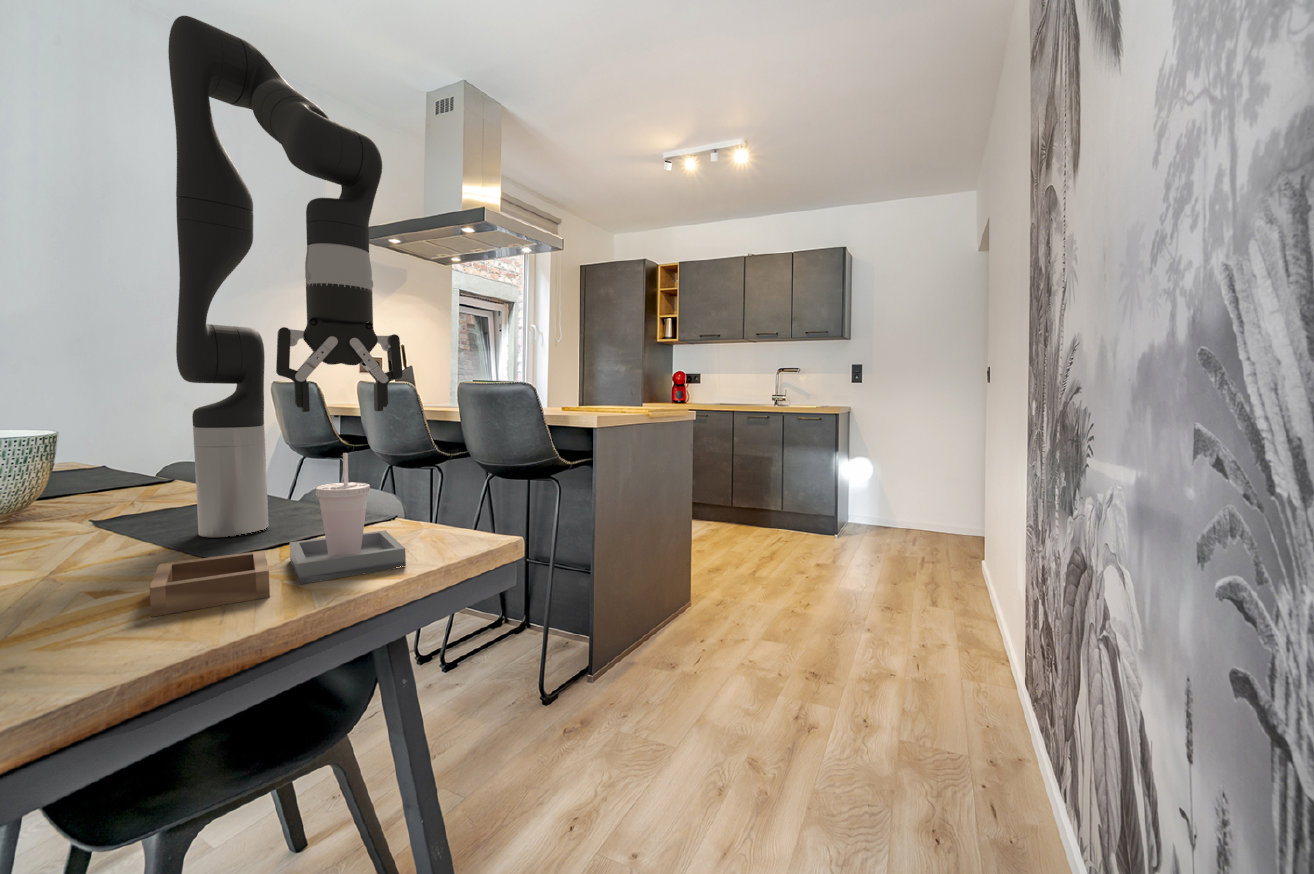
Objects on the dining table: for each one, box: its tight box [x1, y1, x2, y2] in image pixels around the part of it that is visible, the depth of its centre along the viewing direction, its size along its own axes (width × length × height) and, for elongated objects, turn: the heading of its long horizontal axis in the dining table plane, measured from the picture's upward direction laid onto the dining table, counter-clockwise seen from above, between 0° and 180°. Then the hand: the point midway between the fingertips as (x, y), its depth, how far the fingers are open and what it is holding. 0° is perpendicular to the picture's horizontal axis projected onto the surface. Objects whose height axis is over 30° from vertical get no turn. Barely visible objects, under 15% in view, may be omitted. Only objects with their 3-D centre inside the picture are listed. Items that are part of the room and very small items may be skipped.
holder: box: [149, 550, 271, 618], centre depth 65 cm, size 10×10×3 cm
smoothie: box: [315, 452, 371, 557], centre depth 76 cm, size 6×6×14 cm
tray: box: [289, 530, 407, 585], centre depth 76 cm, size 12×12×2 cm
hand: (343, 411), depth 75 cm, fingers open, 8 cm apart
